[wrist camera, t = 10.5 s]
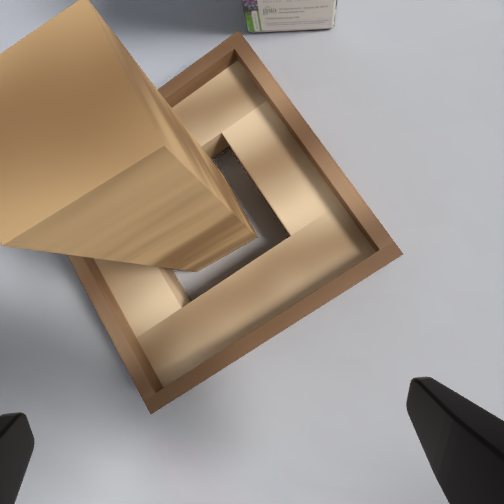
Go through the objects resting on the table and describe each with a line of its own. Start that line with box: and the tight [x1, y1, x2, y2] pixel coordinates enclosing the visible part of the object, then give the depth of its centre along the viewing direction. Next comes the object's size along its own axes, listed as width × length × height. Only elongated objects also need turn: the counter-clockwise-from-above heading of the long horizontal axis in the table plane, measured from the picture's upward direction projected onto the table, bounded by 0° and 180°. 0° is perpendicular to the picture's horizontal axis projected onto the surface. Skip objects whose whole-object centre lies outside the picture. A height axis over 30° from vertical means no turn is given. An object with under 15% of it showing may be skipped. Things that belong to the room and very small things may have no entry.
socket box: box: [67, 31, 403, 414], centre depth 20 cm, size 16×16×3 cm
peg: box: [0, 0, 257, 272], centre depth 15 cm, size 4×4×14 cm
